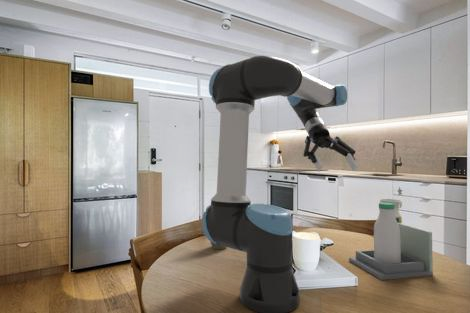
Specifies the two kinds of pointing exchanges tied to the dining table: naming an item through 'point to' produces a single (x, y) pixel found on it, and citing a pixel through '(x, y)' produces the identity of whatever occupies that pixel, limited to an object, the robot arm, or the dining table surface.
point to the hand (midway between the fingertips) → (338, 168)
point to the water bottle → (397, 205)
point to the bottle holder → (412, 256)
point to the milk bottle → (387, 236)
